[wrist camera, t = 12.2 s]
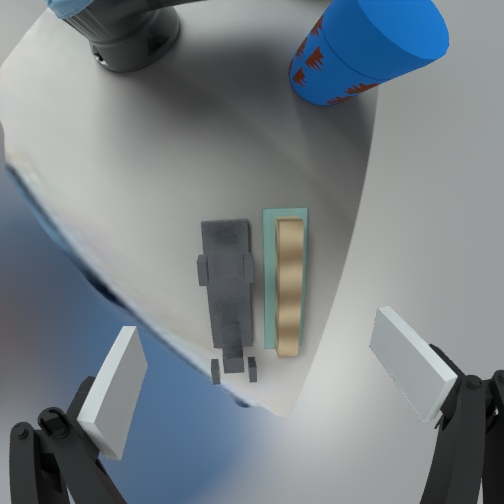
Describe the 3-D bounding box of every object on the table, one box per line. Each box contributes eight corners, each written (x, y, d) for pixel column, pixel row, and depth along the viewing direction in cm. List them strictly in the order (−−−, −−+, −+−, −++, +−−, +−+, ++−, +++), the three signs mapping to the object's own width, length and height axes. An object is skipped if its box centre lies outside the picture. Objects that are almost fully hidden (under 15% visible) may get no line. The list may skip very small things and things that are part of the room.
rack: (201, 221, 42) (192, 244, 30) (246, 219, 43) (255, 241, 31) (214, 344, 49) (212, 393, 37) (251, 341, 50) (259, 390, 38)
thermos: (357, 69, 36) (454, 16, 13) (338, 117, 39) (443, 85, 15) (300, 39, 34) (364, -47, 11) (277, 87, 37) (335, 9, 13)
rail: (274, 216, 43) (279, 221, 39) (296, 215, 43) (303, 220, 39) (274, 344, 50) (278, 357, 46) (292, 342, 50) (297, 355, 46)
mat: (262, 208, 43) (263, 209, 42) (306, 207, 43) (307, 208, 43) (264, 346, 51) (265, 348, 50) (300, 343, 51) (301, 344, 51)
